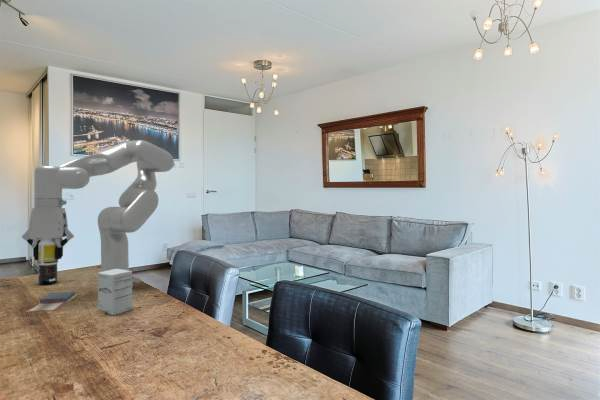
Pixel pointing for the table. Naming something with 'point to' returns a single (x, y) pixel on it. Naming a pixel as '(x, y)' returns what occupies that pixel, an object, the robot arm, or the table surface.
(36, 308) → the stamping board
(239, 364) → the table surface
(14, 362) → the table surface
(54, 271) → the supplement container
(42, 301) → the ink pad
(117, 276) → the supplement box
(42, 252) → the supplement bottle
